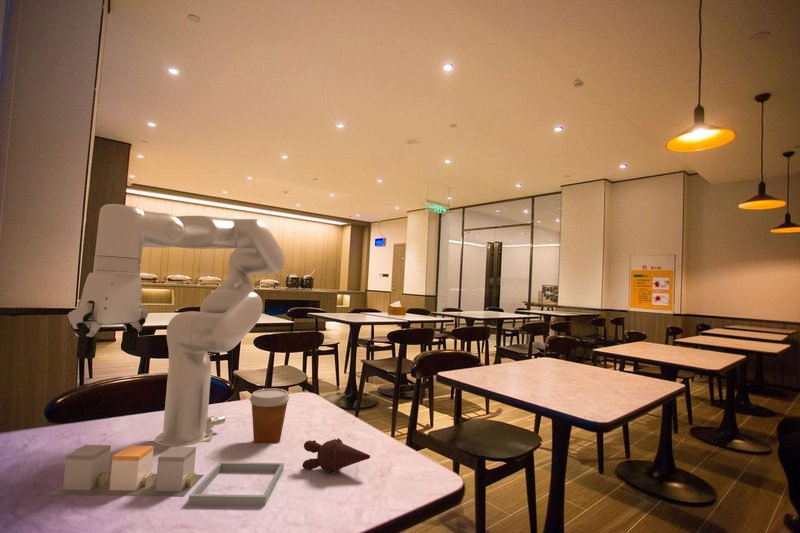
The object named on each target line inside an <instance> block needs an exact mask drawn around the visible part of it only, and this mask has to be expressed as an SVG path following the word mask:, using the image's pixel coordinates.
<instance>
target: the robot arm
mask: <svg viewBox="0 0 800 533" xmlns="http://www.w3.org/2000/svg"><path fill="white" fill-rule="evenodd" d="M95 243H96V244H95V251H94V252H95V253H94V261H93V269H92V270H93V271H92V272H89V273H88V276H87V277H86V280H85V283H84V286H83V290H82V294H81V297H80V302H79V307H77V308H75V309H74V310H72V311H69V313H68V314H67V318H68V320H69V323H70V328H71V329H72V330H73V331H74V332H75V334H74V335H75V336H76V337H78V340H77V349H76V351H77V352H76V358H77V359H83V360H84V359H86V360H92V359H95V358H96V354H97V353H96V351H97V343H98V336H95V335H96V333H97V332H98V331H99V330H100V329H101V327H102V326H103V327H104V326H116V325H119V326H120V325H122V326H123V327H124V329H125V330H123V331H122V336H121V344H120V345H121V346H120V350H121V351H124V352H136V351H137V350H138V344H139V343H138V342H139V335H140V332H141V331H142V330H143V326H144V325H145V323H146V319H147V318H148V315H149V313H150V309H149V308H146V307H145V306H144V305H142V303H143V301H142V300H143V288H142V277H141V269H142V257H143V248H156V249H157V248H160V249H165V248H180V249H191V250H192V249H194V250H210V249H211V250H212V249H214V250H215V249H216V250H217V249H218V250H219V249H225V250H226V249H227V250H228V249H230V250H231V249H234V250H233V251H232V252H231V253H230V255H229V258H228V259H229V260H228V275H227V276H228V277H227V279H226V280H225V281H224V282H223V283H221V284H220V285H219V286H218V287H217V288H215V289H214V290H213V291H212V292H211V293H209V294H208V295H207V296H206V297H205V298H204V300H203V301H202V302H201V305H200V308H199V309H200V310H199V311H194V310H192V311H190V310H189V311H182V312H180V313H177V314H176V315H174V316H173V317H172V318H171V319H170V321H169V322H168V324H167V327H166V341H167V348H168V367H167V368H168V370H167V372H168V373H167V379H166V391H165V392H166V393H165V402H164V403H165V406H164V415H163V416H164V417H163V427H162V428H163V429H162V432H161V433H159V434H158V435H156V436H155V439H154V443H156V444H157V445H159V446H163V447H187V446H191V445H195V444H199V443H208V442H209V441H211V440H212V439H213V436H214V430H212V429H213V428H214V427H215V426H219V425H222V424H223V425H224V423H225V422H226V417H225V416H224V415H220V416H217V417H215V416H214V415H211V416H209V405H210V404H209V403H210V391H211V390H210V389H211V380H212V379H211V376H212V362H211V357H210V355H209V353H208V352H210V353H226V352H229V351H231V350H233V349H235V347H237V345H239V344H240V342H241V341H242V340H243V339H244V338H245V337H246V336H247V335H248V334H249V332H251V330H252V329H253V328H254V327H255V326H256V324H257V323H258V322H259V320H260V318H261V316H262V313H263V308H264V307H263V306H264V305H263V304H264V303H263V301H262V298H261V296H260V295H259V294H258V293H257V292H255V290H254V289H255V288H254V284H253V281H252V280H251V274H254V275H255V274H256V275H257V274H258V275H275V274H278V273H280V272H282V270H283V269H284V267H285V261H286V260H285V254H284V252H283V250H282V248H281V246H280V245H279V243H278V241H277V240H276V238H275V237H274V235H273V233H272V232H271V230H270V229H269V228H268V226H266V224H265V223H264V222H262V221H261V220H259V219H257V218H226V217H217V216H215V217H214V216H208V215H179V216H178V215H177V216H175V215H172V214H170V213H163V212H154V211H148V210H147V211H146V210H142V209H140V208H138V207H135V206H131V205H127V204H119V203H118V204H117V203H109V204H104V205H103V206H102V207H100V210H99V215H98V224H97V234H96V242H95Z"/></svg>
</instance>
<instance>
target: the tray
mask: <svg viewBox="0 0 800 533" xmlns="http://www.w3.org/2000/svg"><path fill="white" fill-rule="evenodd" d="M284 466H285V464H284V462H282V463H281V462H246V461H245V462H239V461H237V462H234V461H233V462H231V461H219V462H218V463H217V464H216V465H215V467H214V468H213V469H212V470H211V471H210V472H209V473H208V474H207V475H206V477H205V478H204V479H203V480H202V481H201V482H200V483H199V484H198V486H197V487H195V489H194V490H193V491H192V492H191V493H190V494H189V495H188V504H187V505H189V506H191V505H192V506H193V505H194V506H197V505H198V506H249V507H250V506H256V507H257V506H261V507H262V506H263V507H265V506H266V505H267V503H268V501H269V500H270V498H271V495H272V493H273V492H274V490H275V488H276V487H277V484H278V481H279V480H280V478H281V477H282V474H283V472H284V469H285V468H284ZM225 471H226V472H227V471H229V472H273V473H274V472H275V474H274V475H273V477H272V478H271V480H270V482H269V484H268V485H267V488H266V490H265V492H264V494H213V493H212V494H210V493H207V494H205V493H203V492H204V491H205V490H206V489H207V488H208V486H209V485H210V484H211V483H212V482H213V481H214V480H215V478H217V476H218V475H219V474H220V472H225Z"/></svg>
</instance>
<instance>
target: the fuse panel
mask: <svg viewBox="0 0 800 533" xmlns="http://www.w3.org/2000/svg"><path fill="white" fill-rule="evenodd" d="M202 477H204V474H197V473H194V474H192V475H191V476H190V477H189V478H188V479H187V486H186V487H185V488H184V489H183V490H182V491H155V489H156V478H157V473H153V472H151V473H148V474H147V475H146V476H145V477H143V482H142V486H141V487H140V488H138V489H137V490H136V491H132V490H110V479H111V472H109V471H108V472H105V473H103V474H102V475H100V476H99V477H98V479H97V485H96V486H95V487H93V488H92V489H90V490H66V489H63V484H62V485H60V486H59V487H58V488H55V489H54V490H52V491H51V492H49V493H48V494H47V495H49V496H51V495H53V496H105V497H107V496H108V497H109V496H113V497H114V496H116V497H117V496H118V497H119V496H120V497H172V498H173V497H175V498H176V497H181V498H182V497H183V498H184V497H185V496H186V494H188V493H189V491H191V489H193V488H194V486H195V485H196V484H197V483H198V482H199V481H200V480H201V478H202Z"/></svg>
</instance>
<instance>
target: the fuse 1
mask: <svg viewBox="0 0 800 533" xmlns="http://www.w3.org/2000/svg"><path fill="white" fill-rule="evenodd" d="M111 447H112V446H111V444H85V445H83V446H80V447H79V448H76V449H75V450H73V451H72V452H70V453H68V454H66V455H65V466H64V467H65V468H64V474H63V484H62V485H63V489H66V490H90V489H92V488H93V487H95V486H96V485H97V479H98V477H99V476H100V475H102V474H103V473H105V472H109V468H110V466H109V465H110V458H111Z"/></svg>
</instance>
